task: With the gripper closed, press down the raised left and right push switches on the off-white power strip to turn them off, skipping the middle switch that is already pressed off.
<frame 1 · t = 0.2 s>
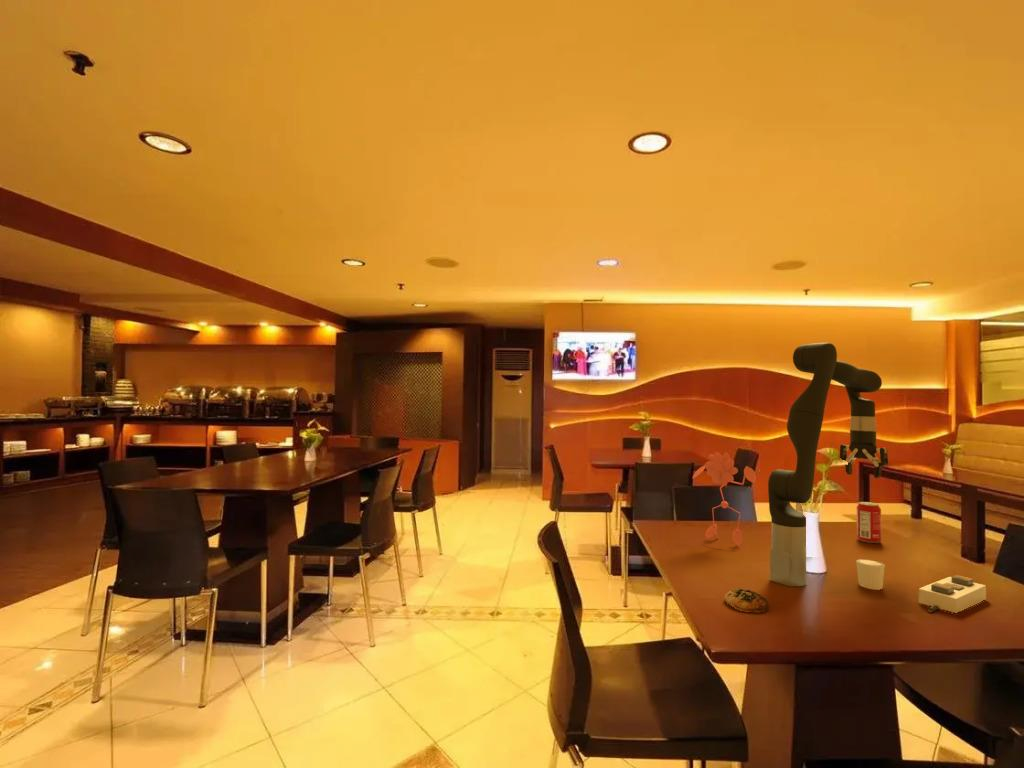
hand: (863, 476, 175), 29 cm above the table, tool pointing down, fingers open, 8 cm apart
switch right: (962, 582, 141), point 4 cm above the table, slide at 0.0 cm
water bottle: (805, 545, 192), on the table
soda can: (869, 542, 198), on the table
pink stick figure: (720, 544, 191), on the table
switch left: (942, 590, 135), point 4 cm above the table, slide at 0.0 cm
power strip: (952, 601, 138), on the table
switch middle: (952, 590, 138), point 3 cm above the table, slide at -1.1 cm
bread roll: (745, 607, 133), on the table
white soft cylinder: (870, 586, 149), on the table
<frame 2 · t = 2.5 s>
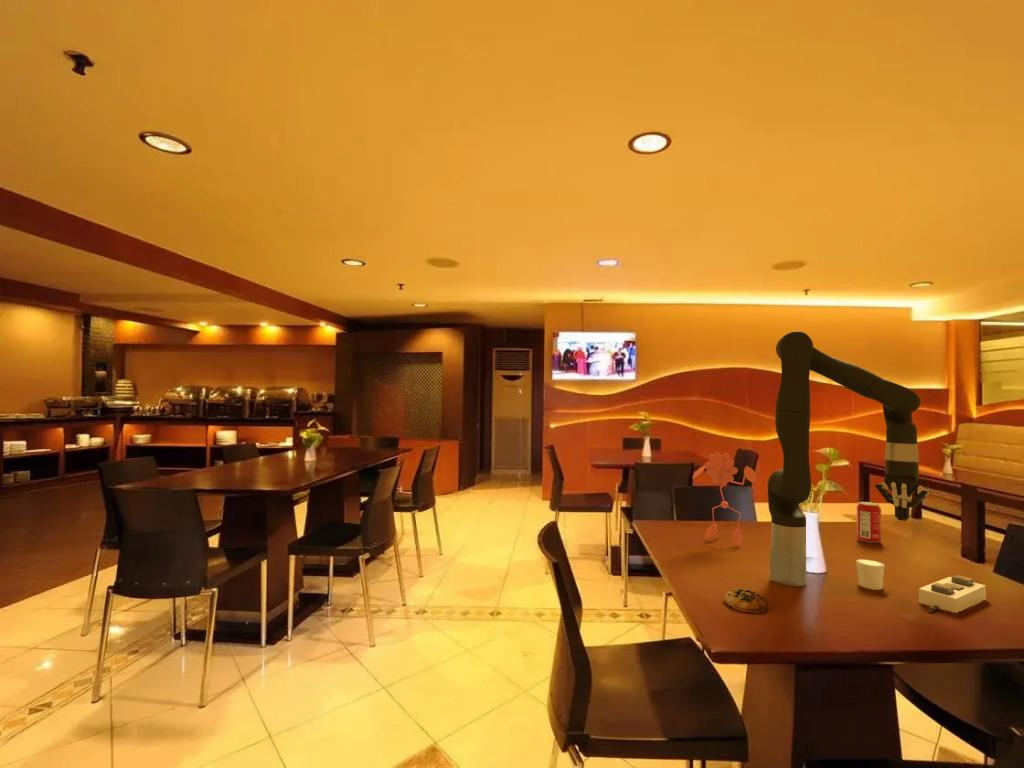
hand: (902, 520, 143), 21 cm above the table, tool pointing down, fingers closed
nothing on the table moved.
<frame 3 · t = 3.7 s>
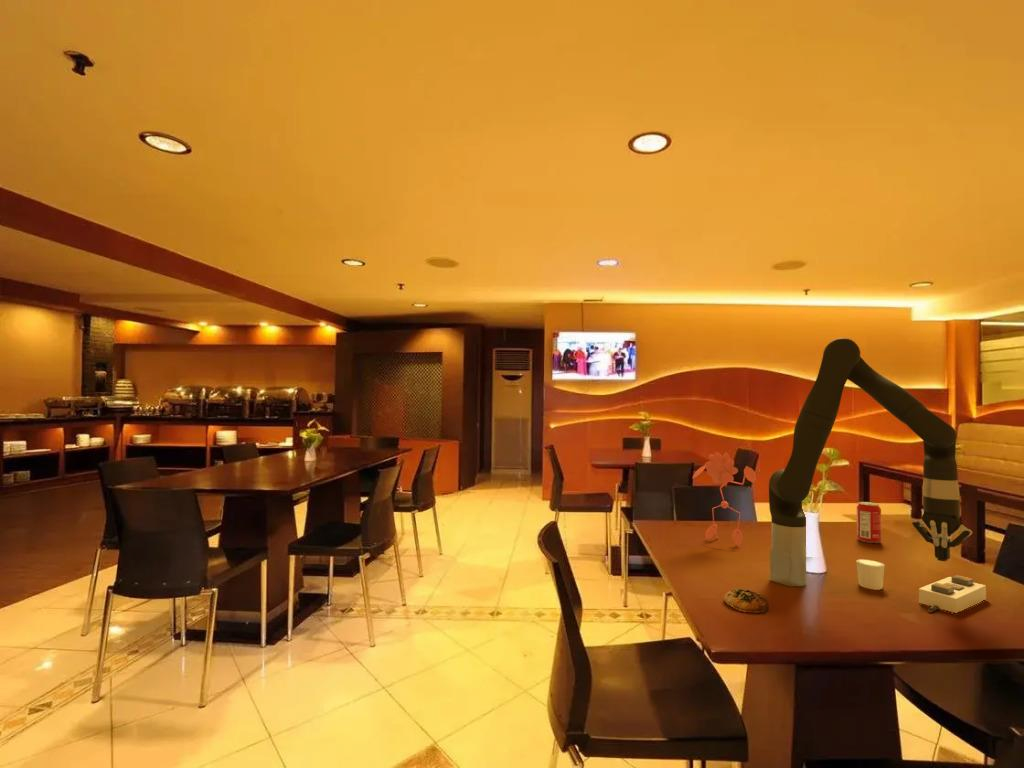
hand: (942, 560, 135), 12 cm above the table, tool pointing down, fingers closed
nothing on the table moved.
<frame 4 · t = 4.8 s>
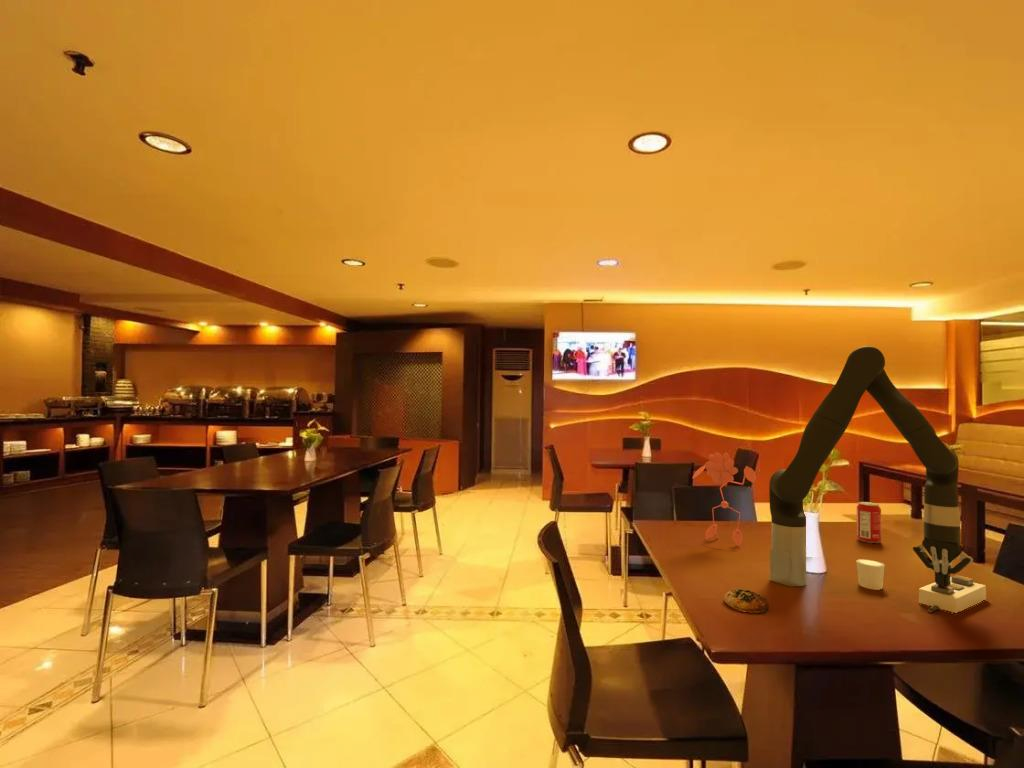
hand: (942, 586, 135), 5 cm above the table, tool pointing down, fingers closed
switch left: (942, 591, 135), point 4 cm above the table, slide at -0.3 cm, touching gripper
everything else where it was.
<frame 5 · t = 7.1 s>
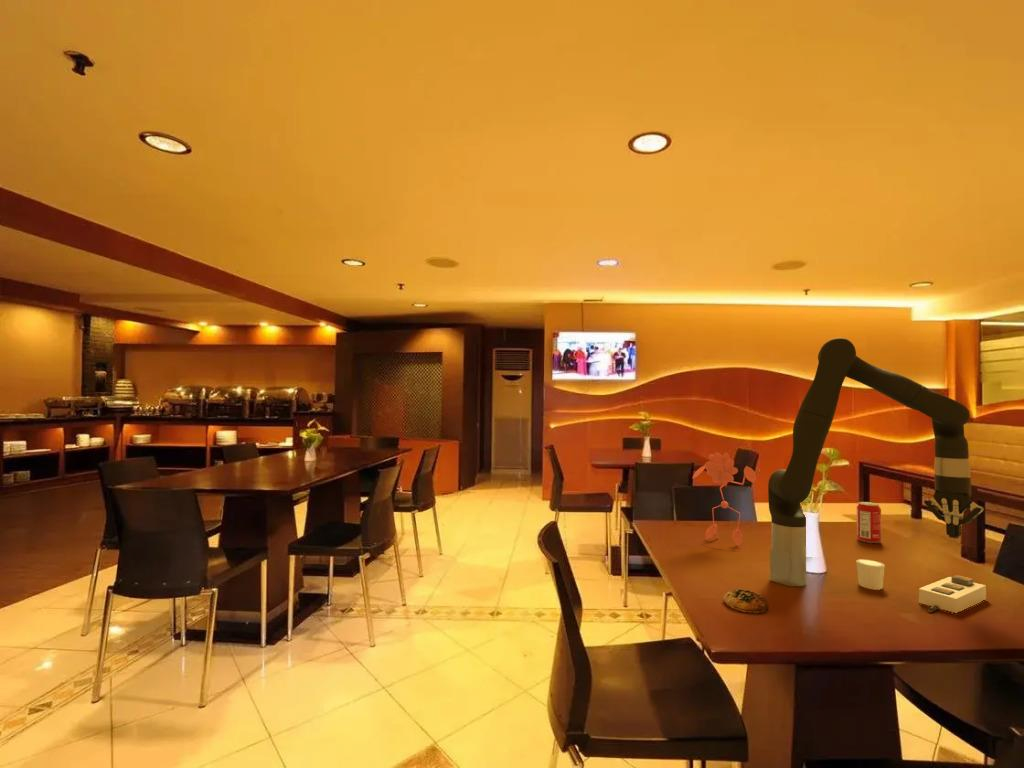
hand: (954, 537, 138), 18 cm above the table, tool pointing down, fingers closed
switch left: (942, 594, 135), point 3 cm above the table, slide at -1.1 cm
everything else where it was.
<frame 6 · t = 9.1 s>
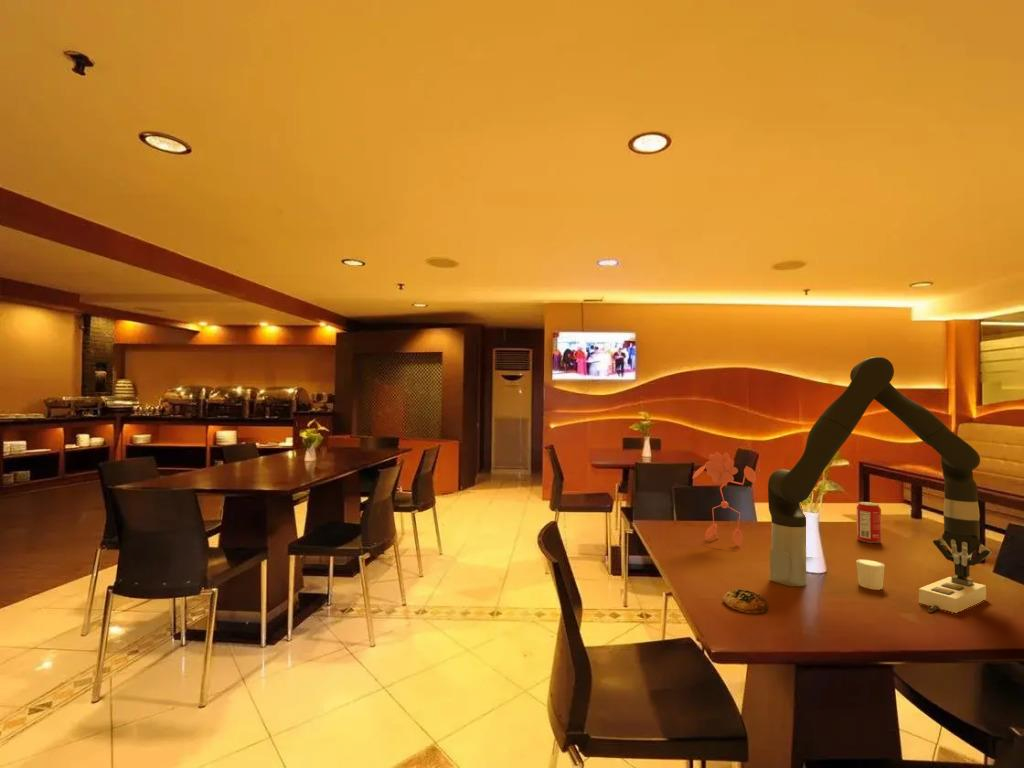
hand: (962, 578, 141), 5 cm above the table, tool pointing down, fingers closed
switch right: (962, 582, 141), point 4 cm above the table, slide at -0.1 cm, touching gripper
everything else where it was.
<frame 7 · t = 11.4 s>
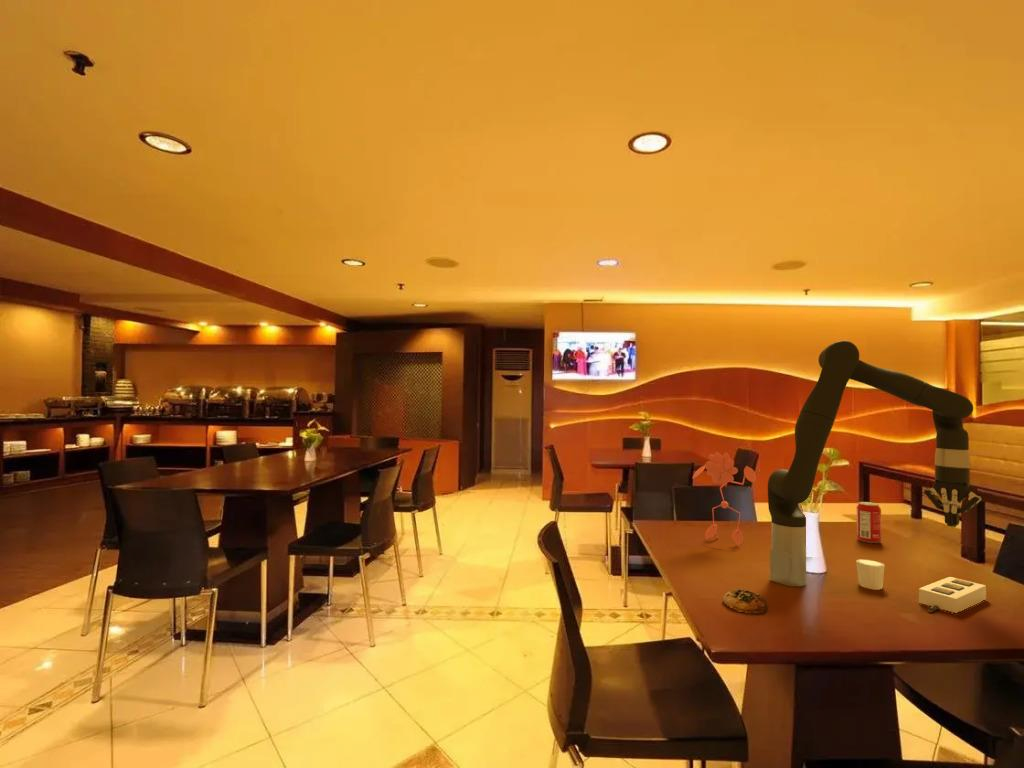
hand: (952, 526, 143), 20 cm above the table, tool pointing down, fingers closed
switch right: (962, 586, 141), point 3 cm above the table, slide at -1.1 cm
everything else where it was.
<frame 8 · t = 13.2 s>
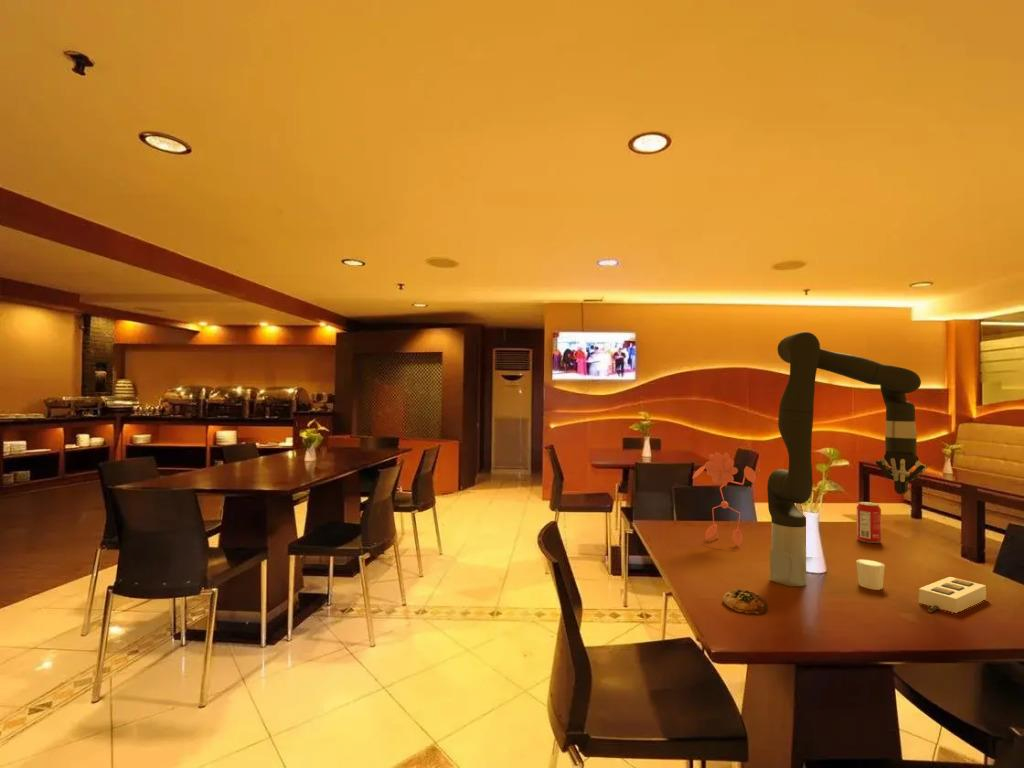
hand: (901, 493, 151), 27 cm above the table, tool pointing down, fingers closed
nothing on the table moved.
at the end: switch left slide at -1.1 cm; switch right slide at -1.1 cm; switch middle slide at -1.1 cm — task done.
